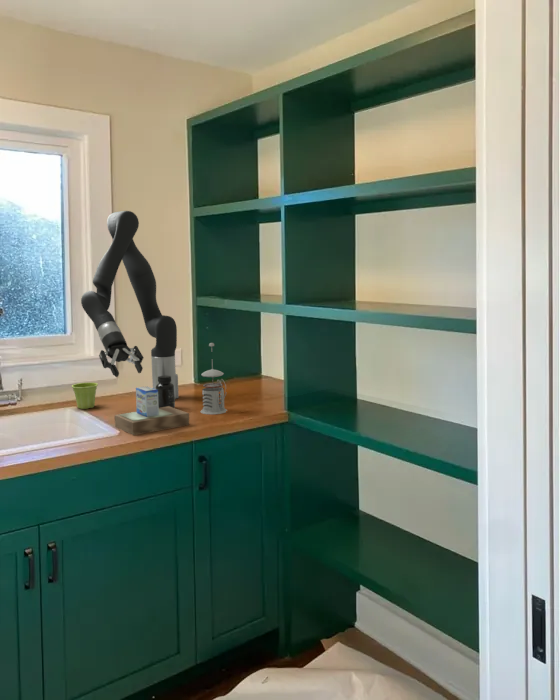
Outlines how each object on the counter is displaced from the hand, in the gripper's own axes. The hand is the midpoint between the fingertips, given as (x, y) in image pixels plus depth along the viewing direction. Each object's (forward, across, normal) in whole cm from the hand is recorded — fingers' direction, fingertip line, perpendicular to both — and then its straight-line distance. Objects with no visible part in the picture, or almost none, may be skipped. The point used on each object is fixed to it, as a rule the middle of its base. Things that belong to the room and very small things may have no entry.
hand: (129, 373), depth 223 cm
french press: (+18, +28, +6) cm, 34 cm away
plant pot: (-11, -3, +34) cm, 36 cm away
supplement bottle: (+6, +18, +19) cm, 27 cm away
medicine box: (+17, 0, 0) cm, 17 cm away
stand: (+20, +1, +4) cm, 20 cm away
